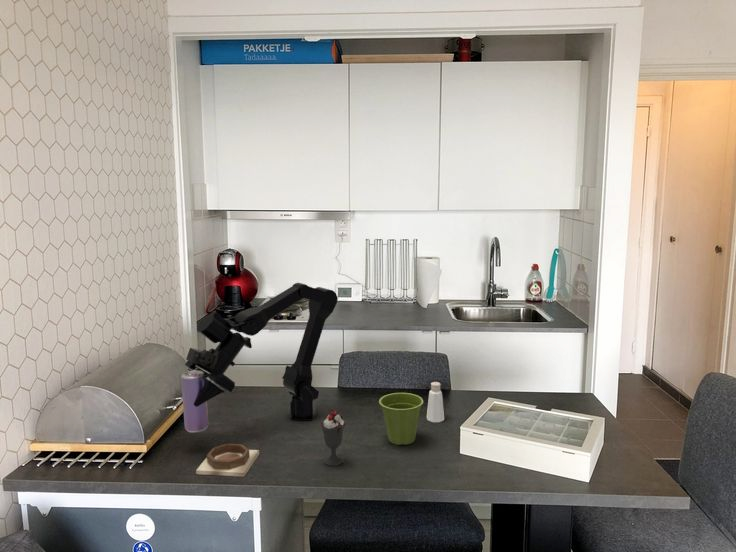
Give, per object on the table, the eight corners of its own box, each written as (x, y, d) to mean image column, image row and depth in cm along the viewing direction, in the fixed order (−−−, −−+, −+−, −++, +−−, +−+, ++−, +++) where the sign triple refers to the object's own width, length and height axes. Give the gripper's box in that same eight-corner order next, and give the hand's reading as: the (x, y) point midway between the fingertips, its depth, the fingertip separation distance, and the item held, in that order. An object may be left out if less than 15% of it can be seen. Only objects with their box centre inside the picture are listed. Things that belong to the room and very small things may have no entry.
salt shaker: (423, 421, 176) (424, 385, 174) (429, 414, 181) (429, 379, 179) (441, 423, 174) (442, 387, 172) (446, 416, 179) (447, 381, 177)
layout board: (259, 453, 157) (258, 442, 156) (244, 476, 145) (243, 465, 144) (214, 451, 158) (214, 440, 158) (196, 474, 146) (195, 462, 146)
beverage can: (202, 433, 156) (198, 378, 153) (181, 432, 157) (176, 377, 154) (212, 424, 161) (208, 370, 159) (191, 422, 162) (187, 369, 160)
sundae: (327, 470, 148) (325, 412, 145) (316, 458, 154) (315, 402, 151) (351, 463, 151) (350, 406, 148) (340, 453, 157) (338, 398, 154)
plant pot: (387, 428, 171) (386, 390, 169) (427, 433, 167) (428, 395, 165) (373, 446, 160) (372, 405, 158) (416, 452, 156) (416, 411, 154)
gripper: (189, 329, 164) (152, 377, 159) (221, 343, 150) (182, 397, 145) (217, 351, 171) (183, 398, 166) (250, 366, 157) (214, 418, 152)
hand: (189, 402), depth 157 cm, fingers closed on beverage can, 6 cm apart
